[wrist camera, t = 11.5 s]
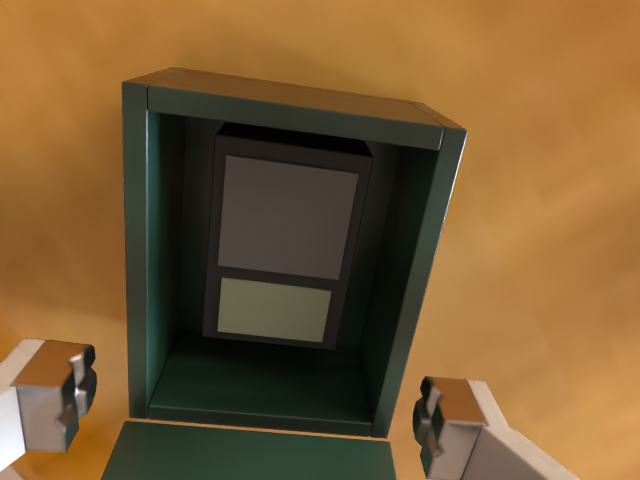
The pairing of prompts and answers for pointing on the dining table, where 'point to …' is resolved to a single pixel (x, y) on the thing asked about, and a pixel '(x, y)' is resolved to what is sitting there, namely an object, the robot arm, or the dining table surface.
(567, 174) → the dining table surface
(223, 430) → the case lid
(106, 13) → the dining table surface
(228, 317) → the dark grey block
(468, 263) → the dining table surface
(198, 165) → the case
